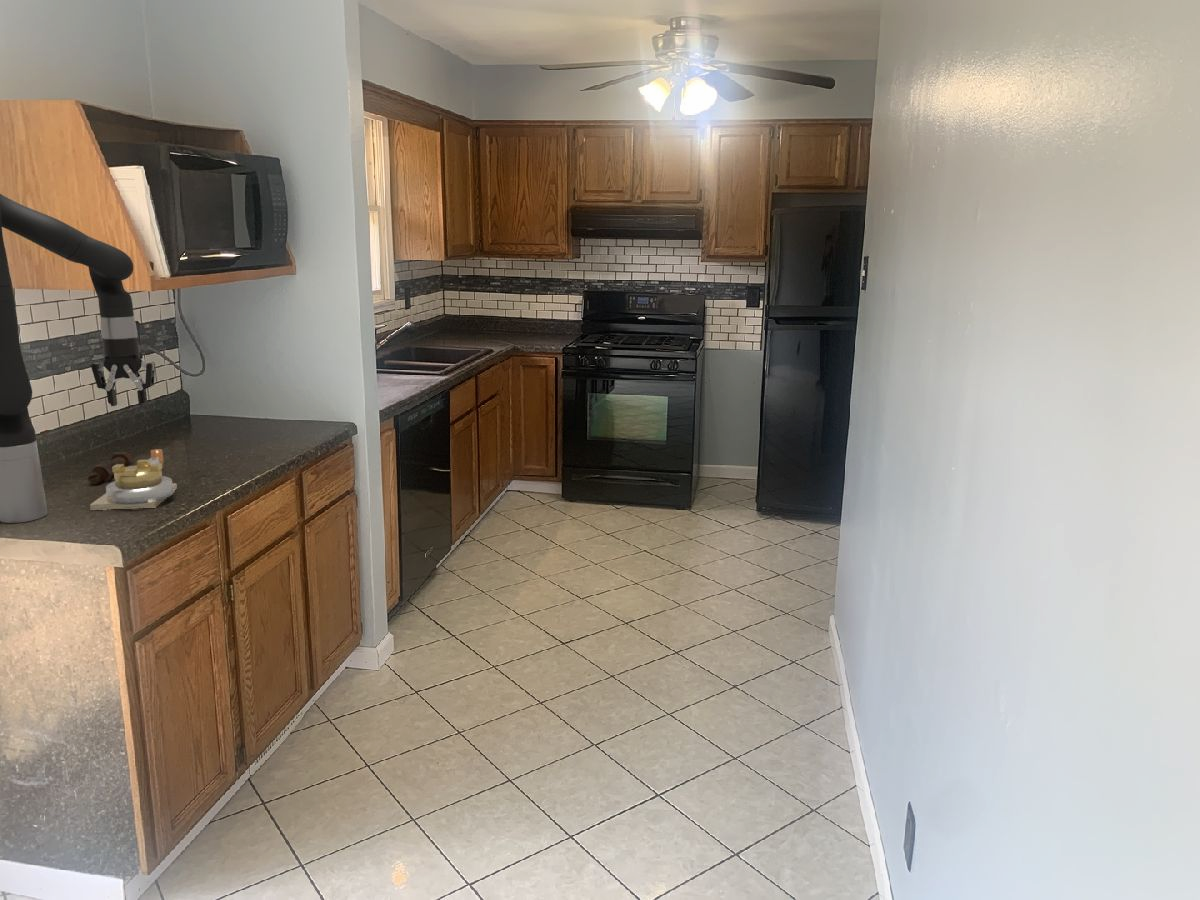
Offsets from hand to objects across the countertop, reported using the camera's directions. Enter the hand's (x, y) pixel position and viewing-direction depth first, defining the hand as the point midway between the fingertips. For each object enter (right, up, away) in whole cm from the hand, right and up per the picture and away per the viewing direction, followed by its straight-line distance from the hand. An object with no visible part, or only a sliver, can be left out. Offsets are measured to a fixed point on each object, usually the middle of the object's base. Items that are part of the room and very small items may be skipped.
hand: (128, 405), depth 217 cm
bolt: (-13, -18, +16) cm, 28 cm away
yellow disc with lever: (+5, -17, 0) cm, 18 cm away
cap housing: (+4, -23, -2) cm, 23 cm away
